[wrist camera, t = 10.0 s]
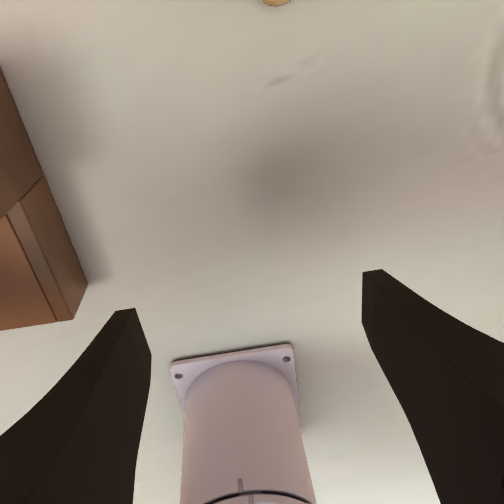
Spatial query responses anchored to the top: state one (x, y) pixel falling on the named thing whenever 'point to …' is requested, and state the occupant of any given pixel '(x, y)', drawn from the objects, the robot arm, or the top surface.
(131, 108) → the top surface
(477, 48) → the top surface
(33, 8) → the top surface
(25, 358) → the top surface
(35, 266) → the step rack
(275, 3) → the pastry
